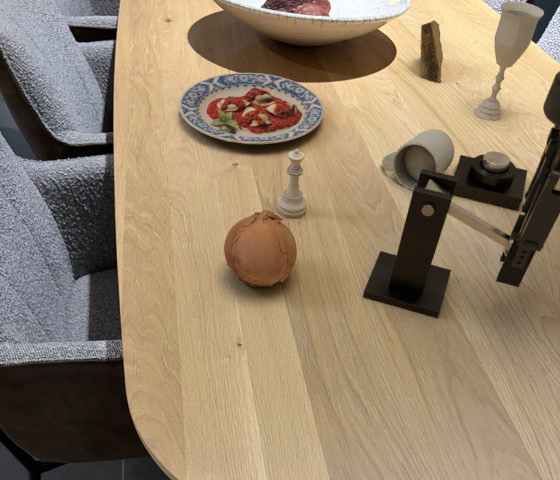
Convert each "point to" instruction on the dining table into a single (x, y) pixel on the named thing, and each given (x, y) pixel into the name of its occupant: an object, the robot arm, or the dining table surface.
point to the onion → (260, 249)
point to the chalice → (509, 47)
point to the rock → (431, 51)
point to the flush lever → (473, 219)
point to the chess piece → (293, 189)
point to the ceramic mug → (420, 157)
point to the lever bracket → (416, 253)
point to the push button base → (490, 183)
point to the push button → (495, 162)
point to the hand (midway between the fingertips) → (509, 271)
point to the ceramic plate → (251, 108)
